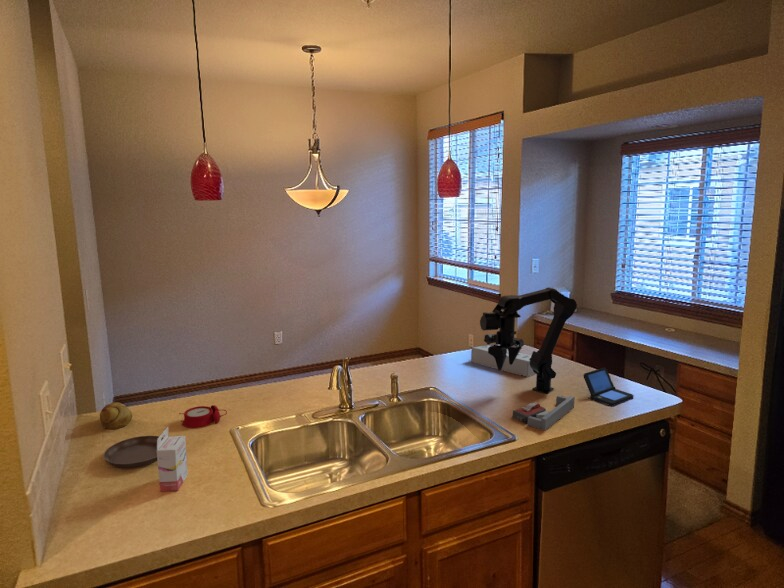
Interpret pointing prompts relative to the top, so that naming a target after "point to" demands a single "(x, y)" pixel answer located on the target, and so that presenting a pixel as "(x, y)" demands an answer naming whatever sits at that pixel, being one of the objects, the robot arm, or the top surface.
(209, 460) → the top surface
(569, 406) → the grey u-shaped bracket
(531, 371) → the low grey-white block
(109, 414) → the snail shell
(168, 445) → the ink cartridge box
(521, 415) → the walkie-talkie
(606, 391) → the handheld game console
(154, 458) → the plant saucer
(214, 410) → the alarm clock
